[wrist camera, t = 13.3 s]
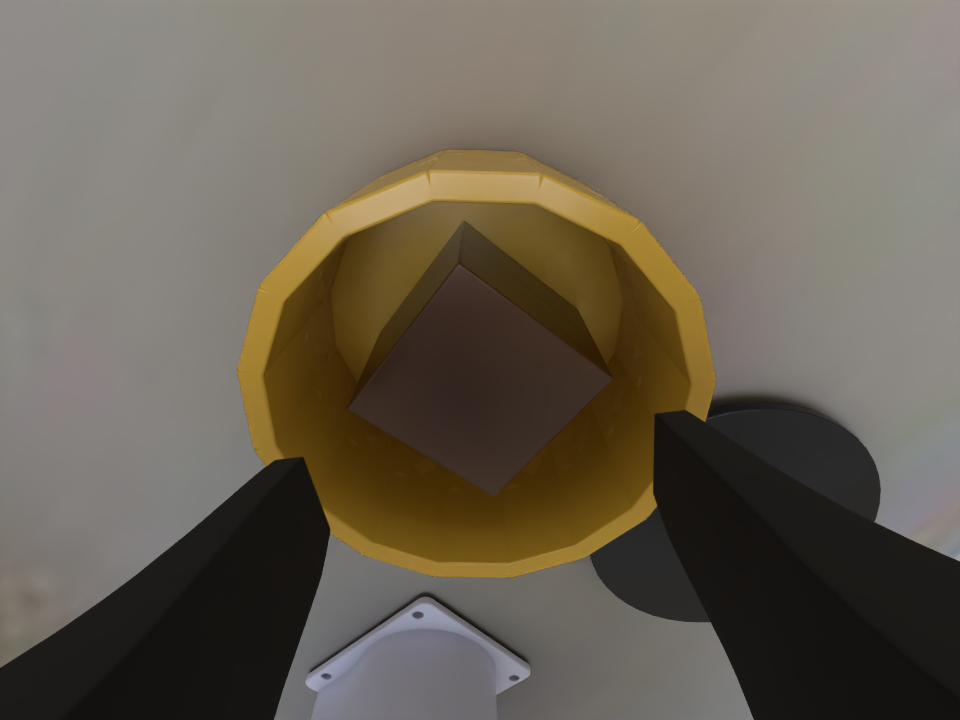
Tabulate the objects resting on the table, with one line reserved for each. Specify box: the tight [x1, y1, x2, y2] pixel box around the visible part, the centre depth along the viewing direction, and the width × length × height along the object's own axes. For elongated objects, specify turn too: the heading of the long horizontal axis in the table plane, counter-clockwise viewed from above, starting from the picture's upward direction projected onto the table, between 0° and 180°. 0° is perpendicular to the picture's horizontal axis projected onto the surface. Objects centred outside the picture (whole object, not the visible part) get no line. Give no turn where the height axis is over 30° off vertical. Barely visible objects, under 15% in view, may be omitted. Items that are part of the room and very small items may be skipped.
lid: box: [590, 403, 881, 622], centre depth 20 cm, size 12×12×5 cm
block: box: [347, 221, 613, 496], centre depth 15 cm, size 5×5×5 cm
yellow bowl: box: [237, 150, 716, 578], centre depth 15 cm, size 11×11×6 cm
